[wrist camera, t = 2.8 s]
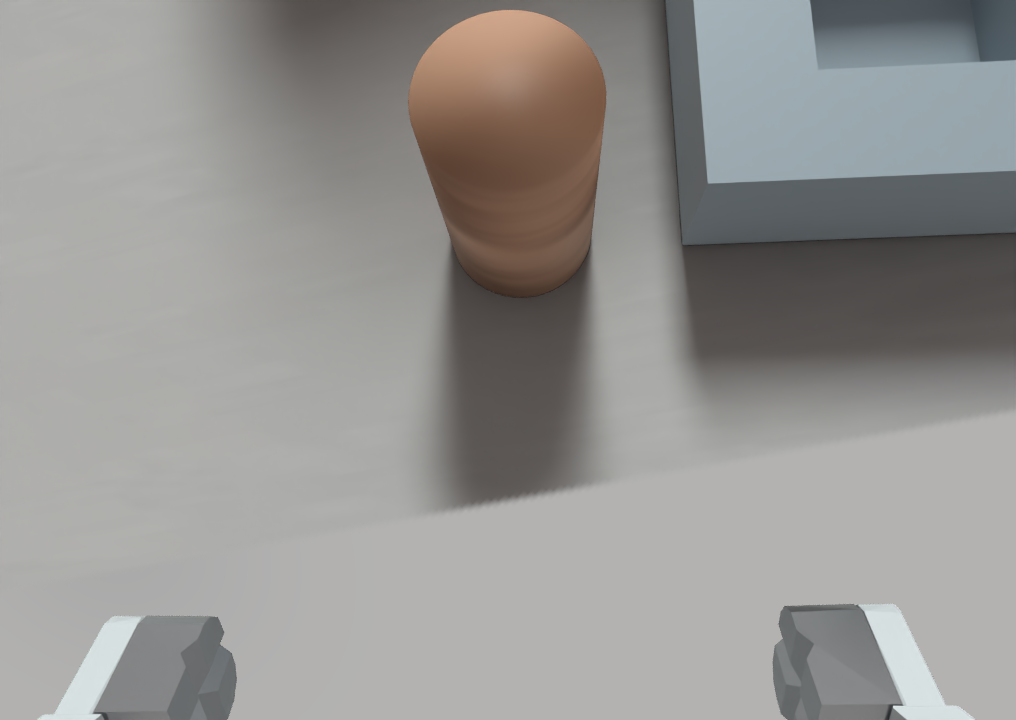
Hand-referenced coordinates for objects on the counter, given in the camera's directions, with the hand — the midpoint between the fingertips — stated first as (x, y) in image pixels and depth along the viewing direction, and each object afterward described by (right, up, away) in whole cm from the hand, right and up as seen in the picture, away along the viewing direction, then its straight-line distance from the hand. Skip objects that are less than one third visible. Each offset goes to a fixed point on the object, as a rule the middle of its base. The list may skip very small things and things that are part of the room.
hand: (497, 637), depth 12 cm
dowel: (+1, +9, +18) cm, 20 cm away
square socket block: (+13, +15, +18) cm, 27 cm away
